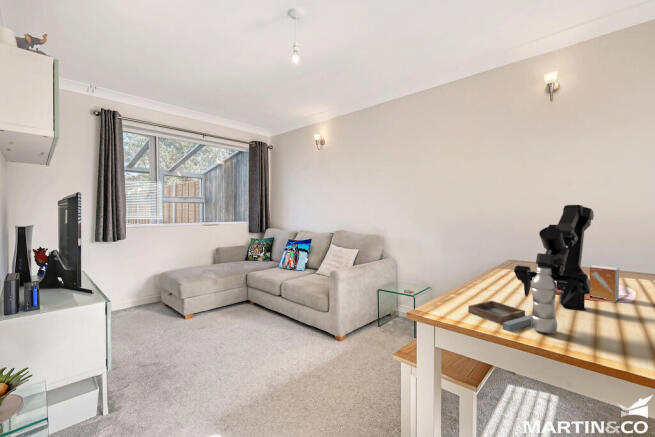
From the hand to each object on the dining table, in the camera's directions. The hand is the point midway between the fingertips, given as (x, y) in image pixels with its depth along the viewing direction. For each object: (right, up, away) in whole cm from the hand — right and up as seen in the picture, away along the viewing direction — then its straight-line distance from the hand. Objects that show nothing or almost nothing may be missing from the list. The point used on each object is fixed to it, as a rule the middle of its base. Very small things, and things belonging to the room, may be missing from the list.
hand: (543, 299), depth 88 cm
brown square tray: (-6, -10, +15) cm, 19 cm away
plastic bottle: (+1, -10, +1) cm, 10 cm away
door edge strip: (-2, -10, +6) cm, 12 cm away
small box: (+49, -8, +31) cm, 58 cm away
